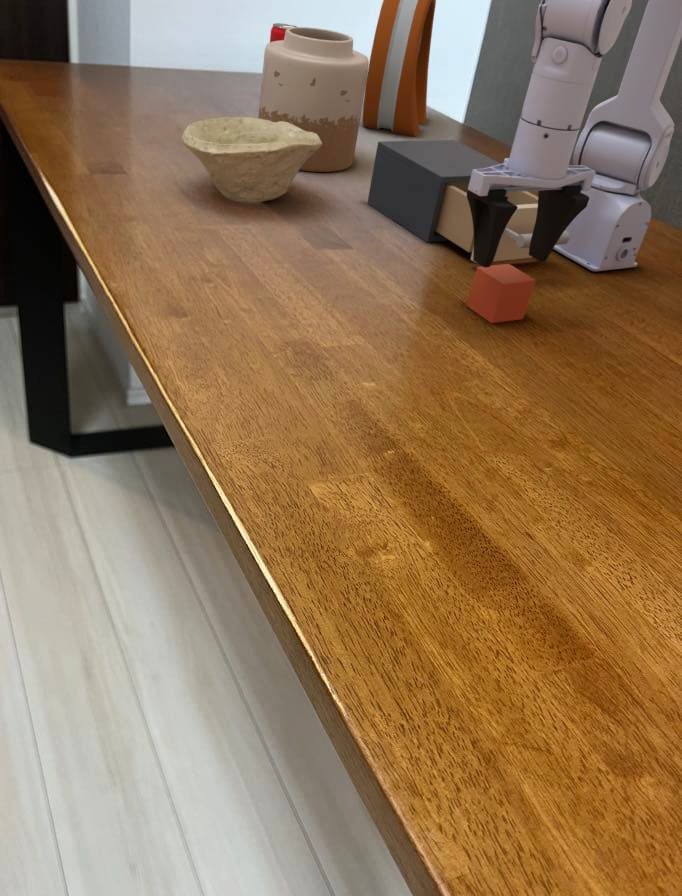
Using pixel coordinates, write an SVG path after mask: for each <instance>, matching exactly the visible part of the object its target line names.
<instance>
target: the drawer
mask: <svg viewBox="0 0 682 896" xmlns="http://www.w3.org/2000/svg"><path fill="white" fill-rule="evenodd" d="M468 186H469V182H461V183H445V188H444V192H443V197H442V201H441V205H440V210H439V214H438V218H437V223H436V227H435V231H436V232H437V233H439V234H441V235H442V236H444V237H445V238H447V239H449V240H450V241H449V242H452V243H453V244H455V245H456V246H458V247H460V248H461V249H463V250H464V251H466V252H468V253H471V254H470V261H471V262H474V263H475V264H477V263H476V262H475V261H473V254H474V232H473V221H472V214H471V210H470V205H469V202H468V199H467V191H468ZM505 197H508V199H507V201H509V202H511V203H512V204H514V205H516V206H517V207H518V208H517V210H516V211H515V212H514V214H513V215H512V217H511V219H510V220H509V222H508V224H507V226H506V228H505V230H504V232H503V234H502V236H501V239H500V242H499V245H498V248H497V251H496V254H495V257H494V260H493V262H502V261H512V260H514V261H515V260H522V259H523V260H524V259H532V258H533V257H532V256H530V255H529V247H530V242H531V238H532V234H533V230H534V226H535V222H536V216H537V208H538V195H535V194H533V193H531V192H530V191H521V192H506V195H505ZM568 241H569V233H568V232H567V231H564V232H563V234H562V235H561V237H560V238H559V240H558V241H557V243H556V244H555V245H561V244H566V243H567V242H568ZM533 259H534V258H533Z"/></svg>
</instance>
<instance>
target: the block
mask: <svg viewBox="0 0 682 896" xmlns="http://www.w3.org/2000/svg"><path fill="white" fill-rule="evenodd" d="M535 283H536V279H535V278H533V277H531V276H530V275H528V274H526V273H525V272H523V271H522V270H520V269H518V268H517V267H516V266H513V265H511V264H510V263H502V264H491V266H490V267H483V266H477V267H476V269H475V273H474V277H473V280H472V285H471V288H470V292H469V295H468V299H467V302H466V307H468V308H469V309H470V310H471V311H473V312H475V313H476V314H477V315H479V316H480V317H481V318H483V319H484V320H486V321H487V322H489V323H490V324H498V323H505V322H512V321H519V320H524V318H525V314H526V312H527V308H528V305H529V302H530V299H531V295H532V292H533V289H534V286H535Z"/></svg>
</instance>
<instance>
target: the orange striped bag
mask: <svg viewBox="0 0 682 896" xmlns="http://www.w3.org/2000/svg"><path fill="white" fill-rule="evenodd" d="M436 4H437V0H382V3H381V7H380V12H379V15H378V19H377V23H376V26H375V32H374V37H373V43H372V47H371V52H370V56H369V66H368V74H367V80H366V86H365V92H364V98H363V105H362V127H364V128H367V129H373V130H379V129H380V128H383V129H386V130H387V129H388V130H390V131H391V132H392V133H394V134H400V135H404V136H411V137H417V136H418V135H419V133H420V126H419V125H424V124H425V122H426V121H427V103H428V102H427V99H428V80H429V79H428V78H429V65H430V53H431V46H432V45H431V44H432V36H433V35H432V34H433V28H434V27H433V26H434V20H435V11H436Z"/></svg>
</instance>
